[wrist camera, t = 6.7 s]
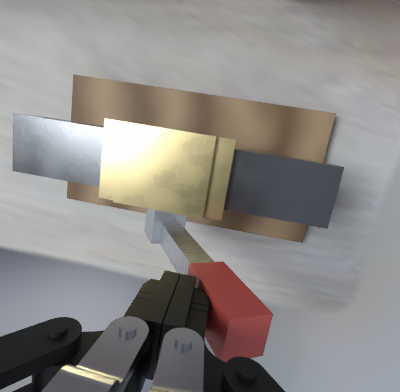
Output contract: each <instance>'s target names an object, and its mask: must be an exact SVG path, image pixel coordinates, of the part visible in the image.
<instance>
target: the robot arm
mask: <svg viewBox="0 0 400 392" xmlns="http://www.w3.org/2000/svg"><path fill="white" fill-rule="evenodd" d="M180 275H181V276H180ZM196 278H197V277H195V276H190V275H186V274H180V273H175V272H170V271H166V270H165V271H164V273H163V275H162V277H161V279H160V281H159V280H154V279H150V280H149V281H147V282H146V283H144V284H143V285H142V287H141V289H140V290H139V292H138V294H137V295H136V298H135V299H134V300H133V302H132V303H131V305H130V307H129V308H128V310H127V312H126V313H125V315H124V317H121V318H118V319H116V320H114V321H113V322H111V323H110V324H109V326H108V327H107V328H106V329H105V330H104V331H97V332H82V327H81V324H80V323H79V322H78V321H77V320H75V319H73V318H68V317H59V318H54V319H51V320H48V321H45V322H42V323H39V324H36V325H34V326H30V327H28V328H25V329H22V330H19V331H16V332H13V333H10V334H7V335H4V336H2V337H0V390H1V389H3V388H5V387H7V386H9V385H11V384H14V383H16V382H18V381H20V380H22V379H24V378H27V377H29V376H31V375H32V383H30V384H28V385H26V386H24V387H21V388H20V389H17V390H15V391H13V392H141V390H142V388H143V385H144V382H145V379H151V380H153V378H154V375H155V378H154V382H153V386H152V388H151V389H150V392H285V391H284V390H283V389H282V388H281V387H280V386H279V385H278V383H277V382H276V381H275V380H274V379H273V378H272V377H271V376H270V375H269V374H268V373H267V371H266V370H265V369H264V368H263V367H262V366H261V365H260V364H259V363H257V362H256V361H254V360H252V359H250V358H247V357H234V358H231V359H229V360H228V361H227V362H224V361H222V360H220V359H219V358H217V357H215V356H214V355H213V354H212V353H211V352H210V351H209V350H208V349H207V347H206V345H205V341H204V337H205V329H206V321H207V314H208V306H209V296H208V295H207V293H206V292H205V290H203V289H199V288H195V284H196ZM155 372H156V373H155Z"/></svg>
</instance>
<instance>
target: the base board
mask: <svg viewBox="0 0 400 392" xmlns="http://www.w3.org/2000/svg"><path fill="white" fill-rule="evenodd" d="M335 115H336V113H329V112H323V111H316V110H309V109H302V108H296V107H289V106H282V105H275V104H269V103H262V102H255V101H248V100H242V99H235V98H228V97H221V96H215V95H208V94H201V93H195V92H188V91H181V90H174V89H168V88H161V87H154V86H147V85H141V84H134V83H127V82H120V81H114V80H107V79H100V78H93V77H87V76H80V75H73V94H72V112H71V121H72V122H79V123H86V124H94V125H102V126H104V121H105V119H111V120H117V121H123V122H130V123H136V124H142V125H148V126H154V127H161V128H167V129H173V130H179V131H185V132H192V133H198V134H204V135H210V136H216V137H222V138H228V139H235V140H236V143H235V148H237V149H243V150H246V149H251V150H258V151H264V152H270V153H276V154H280V155H284V156H288V157H292V158H298V159H305V160H311V161H317V162H324V158H325V154H326V150H327V146H328V142H329V138H330V134H331V131H332V127H333V123H334V119H335ZM67 198H69V199H74V200H80V201H85V202H90V203H96V204H101V205H106V206H111V207H117V208H122V209H127V210H133V211H138V212H143V213H147V208H142V207H137V206H131V205H126V204H121V203H115V202H113V200H109V199H103V198H99V187H98V186H93V185H87V184H82V183H76V182H71V181H68V188H67ZM186 221H191V222H196V223H201V224H207V225H212V226H217V227H223V228H228V229H233V230H238V231H244V232H249V233H254V234H260V235H265V236H270V237H275V238H281V239H286V240H291V241H297V242H302V243H303V240H304V236H305V232H306V228H307V225H305V224H300V223H294V222H289V221H283V220H278V219H273V218H267V217H262V216H256V215H251V214H245V213H240V212H234V211H229V210H223V214H222V220H216V219H210V218H205V217H203V219H201V218H195V217H190V216H186Z"/></svg>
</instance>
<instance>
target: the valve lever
mask: <svg viewBox="0 0 400 392" xmlns="http://www.w3.org/2000/svg"><path fill="white" fill-rule="evenodd" d="M185 222H186V216H185V215H179V214H174V213H169V212H163V211H158V210H153V209H147V216H146V224H145V233H146V235H147V237H148V239H149V240H150V242H151V243H160V244H161V246H162V247H163V249H164V251H165V253H166V254H167V256H168V258H169V259H170V261H171V263H172V264H173V266H174V268H175V270H176V271H177V273H180V274H186V275H190V276H195V277H197V278H196V284H195V288H199V289H203V290H205V292H206V293H207V295H208V296H209V306H208V314H207V321H206V329H205V337H206V339H207V341H208V343H209V345H210V346H211V348H212V350H213V352H214V354H215V356H216V357H217V358H219V359H220V360H222V361H224V362H227V361H228V360H229V359H231V358H234V357H247V358H253V357H258V356H262V355H263V352H264V348H265V344H266V340H267V336H268V332H269V327H270V323H271V320H272V316H273V314H272V312H271V311H270V310H269V309H268V308H267V307H266V306H265V305H264V304H263V303H262V302H261V301H260V300H259V299H258V298H257V297H256V296H255V295H254V293H253V292H252V291H251V290H250V289H249V288H248V287H247V286H246V285H245V284H244V283H243V282H242V281H241V280H240V279H239V278H238V277H237V276H236V275H235V274H234V272H233V271H232V270H231V269H230V268H229V267H228V266H227V265H226V264H225V263H224V262H214V261H213V260H212V259H211V258H210V257H209V255H208V254H207V253H206V252H205V251H204V250H203V249H202V248H201V246H200V245H199V244H198V243H197V242H196V241H195V240H194V239H193V237H192V236H191V235H190V234H189V233H188V232H187V231H186V230H185ZM180 276H181V275H180Z"/></svg>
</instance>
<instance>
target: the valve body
mask: <svg viewBox="0 0 400 392" xmlns="http://www.w3.org/2000/svg"><path fill="white" fill-rule="evenodd" d="M235 143H236V140H235V139H228V138H222V137H216V136H210V135H204V134H198V133H192V132H185V131H179V130H173V129H167V128H161V127H154V126H148V125H142V124H136V123H130V122H123V121H117V120H111V119H105V121H104V126H102V125H94V124H86V123H79V122H72V121H66V120H60V119H54V118H47V117H40V116H32V115H24V114H17V113H13V171H16V172H22V173H27V174H33V175H38V176H43V177H49V178H54V179H60V180H65V181H71V182H76V183H82V184H87V185H93V186H98V187H99V198H103V199H109V200H113V202H115V203H121V204H126V205H131V206H137V207H142V208H147V209H153V210H158V211H163V212H169V213H174V214H179V215H185V216H190V217H195V218H201V219H203V217H205V218H210V219H216V220H222V214H223V210H229V211H234V212H240V213H245V214H251V215H256V216H262V217H267V218H273V219H278V220H283V221H289V222H294V223H300V224H305V225H311V226H316V227H322V228H328V224H329V221H330V217H331V213H332V210H333V206H334V202H335V199H336V195H337V192H338V188H339V184H340V181H341V177H342V173H343V170H344V167H340V166H336V165H332V164H327V163H323V162H317V161H311V160H305V159H298V158H292V157H288V156H284V155H280V154H276V153H270V152H264V151H258V150H251V149H246V150H243V149H237V148H235Z"/></svg>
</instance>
